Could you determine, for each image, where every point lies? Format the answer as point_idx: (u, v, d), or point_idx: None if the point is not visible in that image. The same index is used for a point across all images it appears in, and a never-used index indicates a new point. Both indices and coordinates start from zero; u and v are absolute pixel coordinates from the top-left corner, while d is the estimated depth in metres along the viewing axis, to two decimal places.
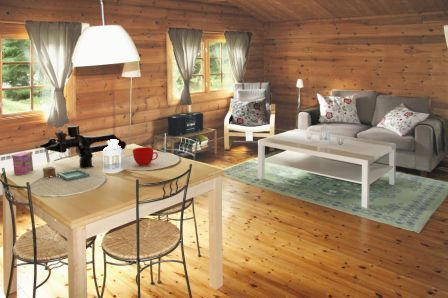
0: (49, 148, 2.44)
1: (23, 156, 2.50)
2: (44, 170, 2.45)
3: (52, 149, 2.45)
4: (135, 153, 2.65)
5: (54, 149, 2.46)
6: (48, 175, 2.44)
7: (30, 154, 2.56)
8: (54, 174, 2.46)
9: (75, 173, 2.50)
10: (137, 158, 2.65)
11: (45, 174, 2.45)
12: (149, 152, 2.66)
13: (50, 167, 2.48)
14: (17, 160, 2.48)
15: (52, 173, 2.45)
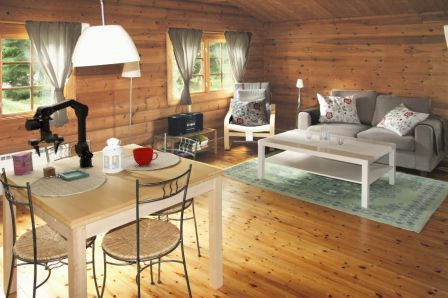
0: None
1: (23, 156, 2.50)
2: (44, 170, 2.45)
3: None
4: (135, 153, 2.65)
5: None
6: (48, 175, 2.44)
7: (30, 154, 2.56)
8: (54, 174, 2.46)
9: (75, 173, 2.50)
10: (137, 158, 2.65)
11: (45, 174, 2.45)
12: (149, 152, 2.66)
13: (50, 167, 2.48)
14: (17, 160, 2.48)
15: (52, 173, 2.45)
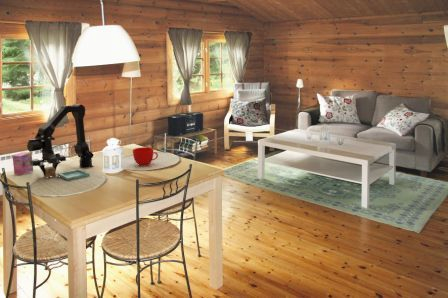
0: None
1: (23, 156, 2.50)
2: None
3: None
4: (135, 153, 2.65)
5: None
6: (48, 175, 2.44)
7: (30, 154, 2.56)
8: (54, 174, 2.46)
9: (75, 173, 2.50)
10: (137, 158, 2.65)
11: None
12: (149, 152, 2.66)
13: (50, 167, 2.48)
14: (17, 160, 2.48)
15: (52, 173, 2.45)
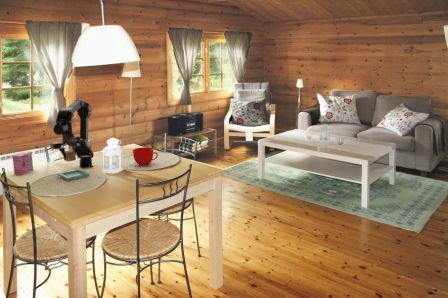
0: None
1: (23, 156, 2.50)
2: None
3: None
4: (135, 153, 2.65)
5: None
6: (68, 158, 2.41)
7: (30, 154, 2.56)
8: (74, 157, 2.44)
9: (75, 173, 2.50)
10: (137, 158, 2.65)
11: None
12: (149, 152, 2.66)
13: (70, 150, 2.45)
14: (17, 160, 2.48)
15: (72, 156, 2.43)
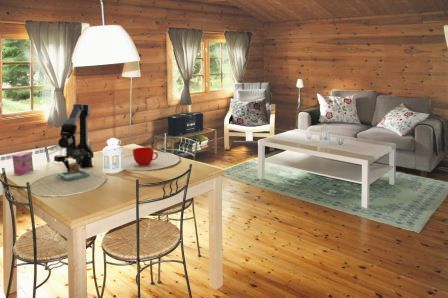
0: None
1: (23, 156, 2.50)
2: None
3: None
4: (135, 153, 2.65)
5: None
6: (72, 171, 2.43)
7: (30, 154, 2.56)
8: (78, 170, 2.45)
9: (75, 173, 2.50)
10: (137, 158, 2.65)
11: (69, 170, 2.44)
12: (149, 152, 2.66)
13: (74, 163, 2.47)
14: (17, 160, 2.48)
15: (76, 168, 2.44)
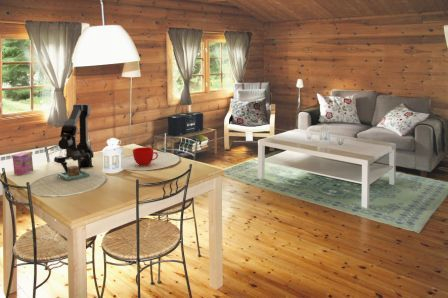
0: None
1: (23, 156, 2.50)
2: (68, 169, 2.44)
3: None
4: (135, 153, 2.65)
5: None
6: (72, 174, 2.43)
7: (30, 154, 2.56)
8: (78, 173, 2.46)
9: None
10: (137, 158, 2.65)
11: (69, 173, 2.44)
12: (149, 152, 2.66)
13: (74, 166, 2.47)
14: (17, 160, 2.48)
15: (76, 172, 2.45)
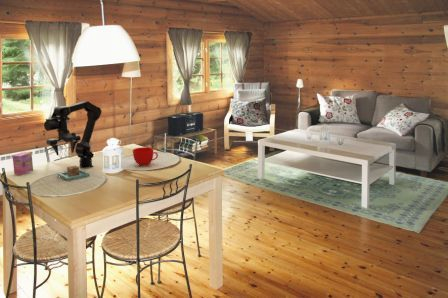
0: None
1: (23, 156, 2.50)
2: (68, 169, 2.44)
3: None
4: (135, 153, 2.65)
5: None
6: (72, 174, 2.43)
7: (30, 154, 2.56)
8: (78, 173, 2.46)
9: None
10: (137, 158, 2.65)
11: (69, 173, 2.44)
12: (149, 152, 2.66)
13: (74, 166, 2.47)
14: (17, 160, 2.48)
15: (76, 172, 2.45)
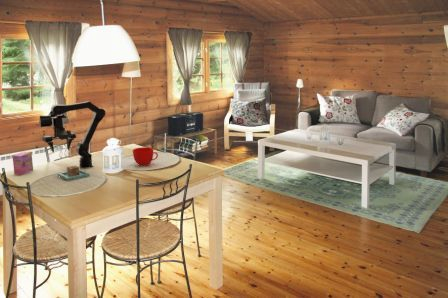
0: None
1: (23, 156, 2.50)
2: (68, 169, 2.44)
3: None
4: (135, 153, 2.65)
5: None
6: (72, 174, 2.43)
7: (30, 154, 2.56)
8: (78, 173, 2.46)
9: None
10: (137, 158, 2.65)
11: (69, 173, 2.44)
12: (149, 152, 2.66)
13: (74, 166, 2.47)
14: (17, 160, 2.48)
15: (76, 172, 2.45)
